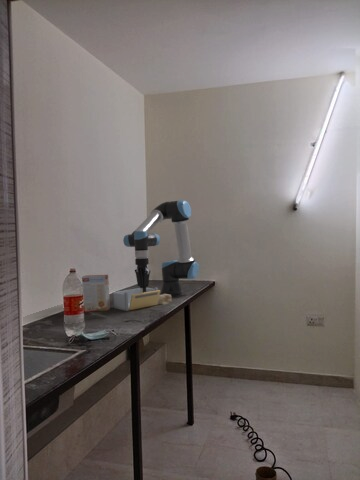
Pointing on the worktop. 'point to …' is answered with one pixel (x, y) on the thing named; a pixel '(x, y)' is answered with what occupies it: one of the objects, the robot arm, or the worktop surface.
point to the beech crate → (164, 299)
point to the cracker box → (96, 293)
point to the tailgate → (144, 299)
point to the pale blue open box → (126, 298)
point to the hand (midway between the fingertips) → (143, 298)
